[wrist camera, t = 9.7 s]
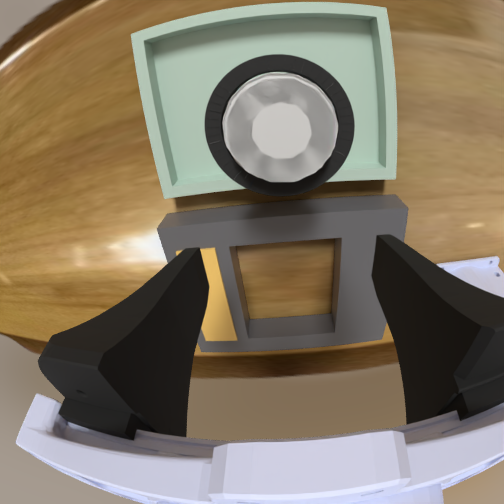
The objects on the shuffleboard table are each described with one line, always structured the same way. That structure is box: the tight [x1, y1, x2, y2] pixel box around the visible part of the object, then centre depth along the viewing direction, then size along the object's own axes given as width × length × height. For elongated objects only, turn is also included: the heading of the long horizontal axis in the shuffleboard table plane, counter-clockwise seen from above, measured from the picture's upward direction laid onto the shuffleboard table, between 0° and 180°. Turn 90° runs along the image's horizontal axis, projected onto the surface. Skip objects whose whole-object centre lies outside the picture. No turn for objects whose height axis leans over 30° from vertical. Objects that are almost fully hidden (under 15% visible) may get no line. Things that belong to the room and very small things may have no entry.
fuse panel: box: [157, 195, 408, 352], centre depth 24 cm, size 18×14×3 cm
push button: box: [204, 54, 355, 196], centre depth 13 cm, size 7×5×10 cm
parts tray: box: [131, 2, 397, 199], centre depth 16 cm, size 16×12×2 cm
